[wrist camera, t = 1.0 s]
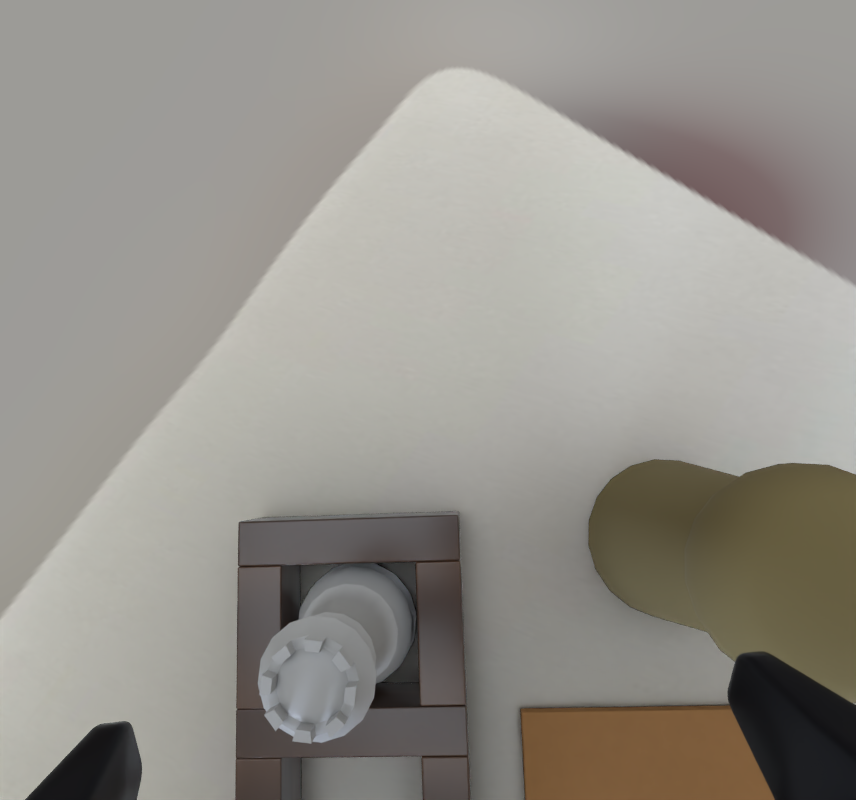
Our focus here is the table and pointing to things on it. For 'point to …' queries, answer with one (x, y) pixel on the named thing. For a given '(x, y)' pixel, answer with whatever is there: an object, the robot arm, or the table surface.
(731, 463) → the table surface
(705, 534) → the pepper shaker
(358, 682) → the rook chess piece
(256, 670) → the piece rack
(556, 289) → the table surface
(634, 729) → the cork mat
